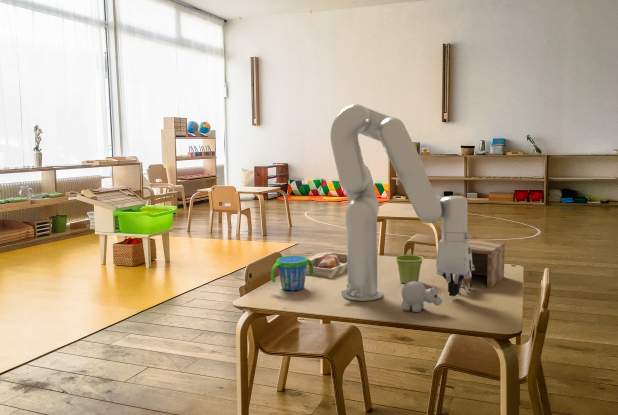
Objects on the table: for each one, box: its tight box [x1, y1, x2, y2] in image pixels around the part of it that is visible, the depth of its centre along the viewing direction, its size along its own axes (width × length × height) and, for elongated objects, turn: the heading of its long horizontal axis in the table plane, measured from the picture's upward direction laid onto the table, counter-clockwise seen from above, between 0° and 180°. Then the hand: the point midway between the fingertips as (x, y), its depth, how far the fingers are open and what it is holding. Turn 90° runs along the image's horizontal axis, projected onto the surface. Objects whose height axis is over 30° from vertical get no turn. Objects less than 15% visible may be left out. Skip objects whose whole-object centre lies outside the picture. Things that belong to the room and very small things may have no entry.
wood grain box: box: [469, 239, 506, 288], centre depth 188 cm, size 15×12×12 cm
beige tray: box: [306, 252, 347, 279], centre depth 209 cm, size 25×16×3 cm, turn 145°
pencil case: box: [317, 253, 341, 269], centre depth 208 cm, size 11×20×5 cm, turn 159°
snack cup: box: [270, 255, 314, 292], centre depth 182 cm, size 16×10×10 cm
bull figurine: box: [457, 264, 475, 295], centre depth 176 cm, size 4×13×8 cm, turn 152°
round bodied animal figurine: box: [401, 281, 444, 313], centre depth 156 cm, size 7×12×8 cm, turn 63°
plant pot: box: [394, 254, 424, 285], centre depth 186 cm, size 9×9×9 cm
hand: (453, 294), depth 167 cm, fingers closed
